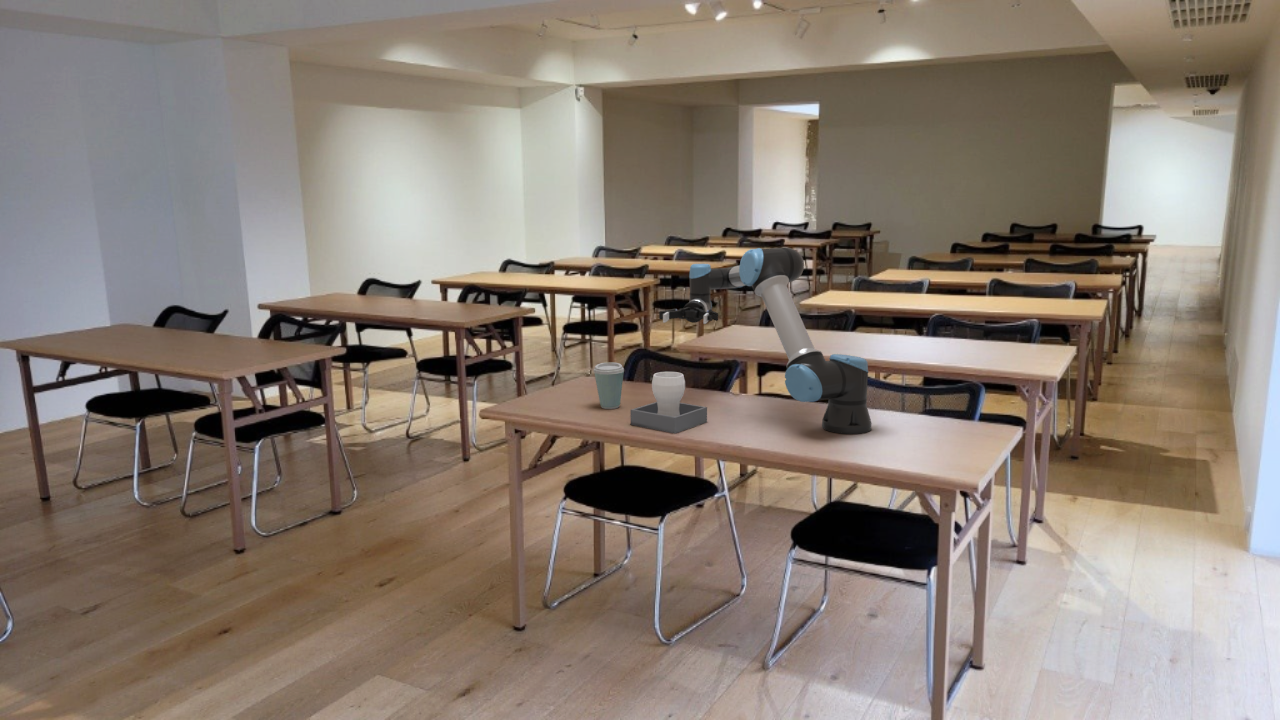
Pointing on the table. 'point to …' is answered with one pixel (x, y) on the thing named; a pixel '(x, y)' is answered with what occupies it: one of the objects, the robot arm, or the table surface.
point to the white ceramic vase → (668, 392)
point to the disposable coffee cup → (609, 384)
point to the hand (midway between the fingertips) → (684, 319)
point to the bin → (669, 418)
